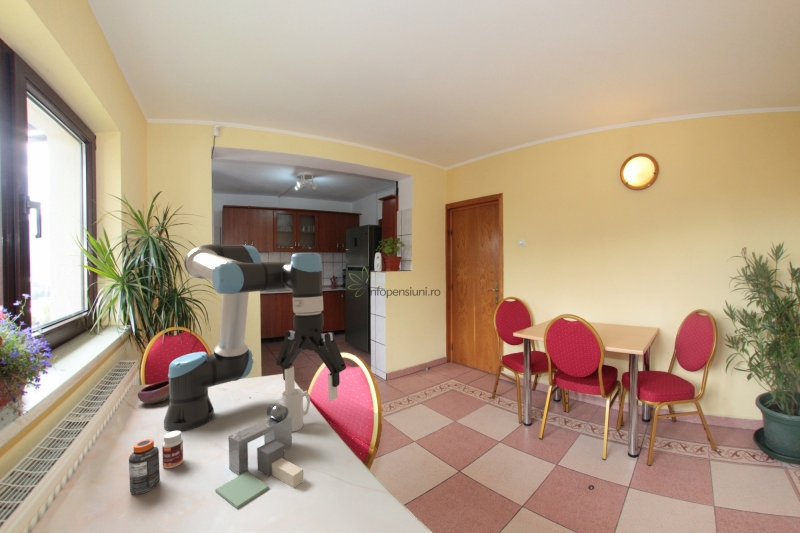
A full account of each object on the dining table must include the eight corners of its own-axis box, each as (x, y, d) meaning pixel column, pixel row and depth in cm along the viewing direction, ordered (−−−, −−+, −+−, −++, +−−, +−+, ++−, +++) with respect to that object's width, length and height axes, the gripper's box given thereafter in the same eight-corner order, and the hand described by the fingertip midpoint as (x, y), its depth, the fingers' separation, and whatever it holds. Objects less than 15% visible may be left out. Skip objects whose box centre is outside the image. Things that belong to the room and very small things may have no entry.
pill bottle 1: (153, 476, 85) (152, 433, 85) (164, 483, 82) (163, 439, 82) (125, 490, 80) (124, 445, 80) (136, 498, 77) (134, 451, 77)
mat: (215, 491, 79) (215, 489, 79) (246, 473, 86) (246, 471, 86) (237, 508, 73) (237, 506, 73) (268, 488, 80) (268, 485, 80)
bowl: (146, 411, 124) (146, 390, 124) (133, 404, 131) (132, 384, 131) (191, 396, 138) (191, 377, 138) (176, 390, 145) (176, 372, 145)
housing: (229, 469, 88) (228, 421, 88) (282, 441, 101) (281, 399, 101) (239, 475, 85) (238, 426, 85) (292, 445, 98) (291, 403, 98)
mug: (289, 434, 105) (288, 398, 105) (279, 428, 109) (278, 392, 109) (315, 422, 113) (315, 388, 112) (305, 417, 117) (304, 384, 117)
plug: (255, 469, 88) (255, 447, 88) (272, 459, 92) (271, 438, 92) (290, 490, 79) (289, 465, 79) (306, 478, 83) (305, 455, 83)
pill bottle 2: (161, 471, 87) (160, 440, 87) (164, 461, 92) (163, 432, 92) (182, 465, 90) (181, 435, 90) (184, 456, 94) (183, 428, 94)
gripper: (260, 314, 84) (262, 395, 84) (341, 316, 74) (344, 408, 74) (281, 310, 91) (283, 385, 91) (358, 312, 81) (360, 396, 81)
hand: (311, 395), depth 83 cm, fingers open, 13 cm apart
